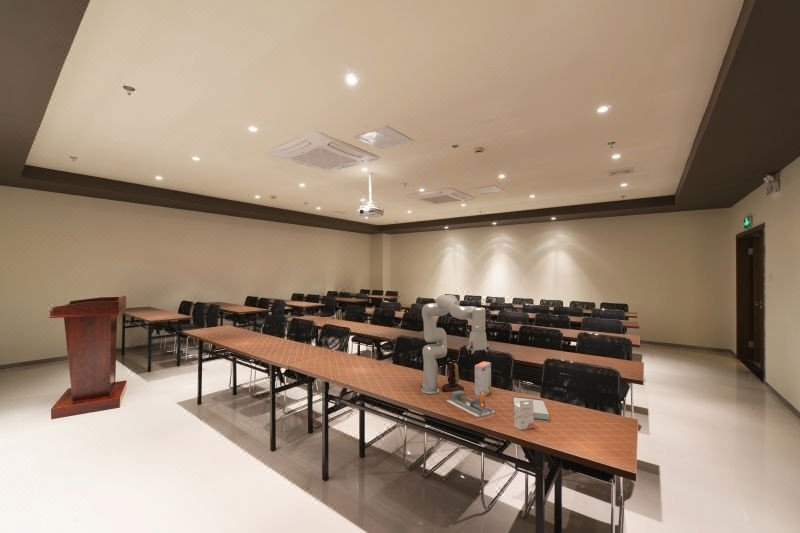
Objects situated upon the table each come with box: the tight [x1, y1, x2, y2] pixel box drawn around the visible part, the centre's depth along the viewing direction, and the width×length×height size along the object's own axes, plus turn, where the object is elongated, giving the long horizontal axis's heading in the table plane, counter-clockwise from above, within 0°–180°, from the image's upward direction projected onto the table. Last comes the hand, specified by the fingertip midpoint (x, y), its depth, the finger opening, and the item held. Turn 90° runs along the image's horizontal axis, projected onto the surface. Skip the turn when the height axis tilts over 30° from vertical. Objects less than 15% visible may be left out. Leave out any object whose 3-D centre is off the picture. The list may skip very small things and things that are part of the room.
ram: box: [470, 391, 489, 414], centre depth 194 cm, size 9×6×11 cm
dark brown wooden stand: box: [441, 360, 465, 393], centre depth 233 cm, size 15×15×20 cm
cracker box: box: [474, 360, 492, 398], centre depth 225 cm, size 14×6×21 cm, turn 142°
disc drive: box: [512, 396, 550, 423], centre depth 198 cm, size 18×22×5 cm
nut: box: [460, 395, 468, 403], centre depth 206 cm, size 4×4×4 cm
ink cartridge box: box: [513, 400, 534, 431], centre depth 177 cm, size 9×5×15 cm, turn 106°
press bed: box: [446, 390, 496, 420], centre depth 201 cm, size 27×14×6 cm, turn 31°
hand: (477, 359), depth 192 cm, fingers open, 9 cm apart
